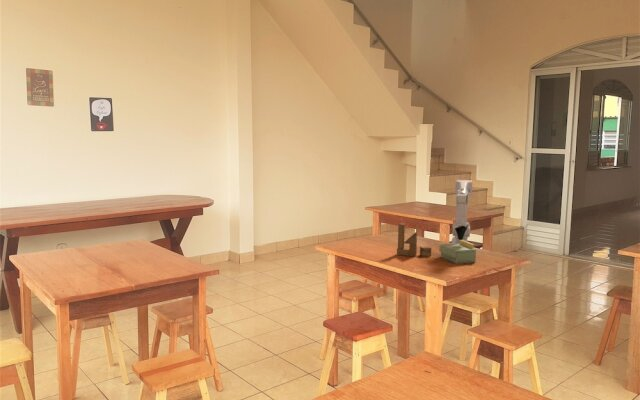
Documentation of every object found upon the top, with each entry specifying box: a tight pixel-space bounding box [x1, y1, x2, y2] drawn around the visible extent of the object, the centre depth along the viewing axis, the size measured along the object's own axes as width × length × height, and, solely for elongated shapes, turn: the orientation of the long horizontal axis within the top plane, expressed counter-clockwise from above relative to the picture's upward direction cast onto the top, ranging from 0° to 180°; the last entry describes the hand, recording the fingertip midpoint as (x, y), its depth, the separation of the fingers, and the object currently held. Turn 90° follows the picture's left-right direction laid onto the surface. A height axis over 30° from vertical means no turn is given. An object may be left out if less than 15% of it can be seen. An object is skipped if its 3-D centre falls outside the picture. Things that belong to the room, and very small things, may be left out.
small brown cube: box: [419, 245, 432, 258], centre depth 303 cm, size 4×5×5 cm
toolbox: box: [440, 250, 477, 265], centre depth 295 cm, size 16×12×6 cm
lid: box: [438, 240, 477, 258], centre depth 294 cm, size 16×13×6 cm
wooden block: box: [396, 223, 418, 258], centre depth 303 cm, size 4×11×18 cm, turn 68°
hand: (460, 239), depth 298 cm, fingers closed
